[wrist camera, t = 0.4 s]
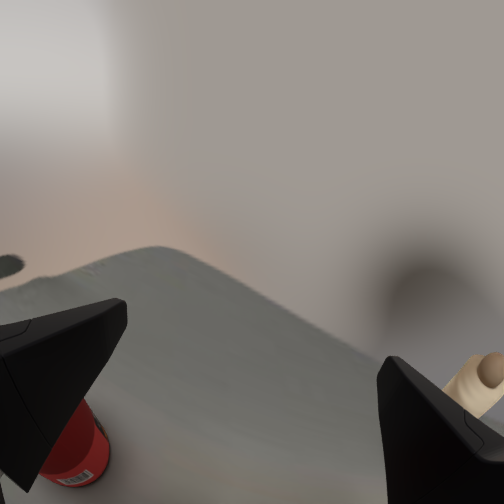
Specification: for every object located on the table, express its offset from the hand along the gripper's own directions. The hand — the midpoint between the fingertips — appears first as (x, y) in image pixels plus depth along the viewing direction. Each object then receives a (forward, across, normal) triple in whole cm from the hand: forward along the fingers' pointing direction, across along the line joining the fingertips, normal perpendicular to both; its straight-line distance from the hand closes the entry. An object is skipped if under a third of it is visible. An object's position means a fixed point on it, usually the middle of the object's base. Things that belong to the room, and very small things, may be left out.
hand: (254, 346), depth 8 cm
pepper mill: (+6, -17, +16) cm, 24 cm away
